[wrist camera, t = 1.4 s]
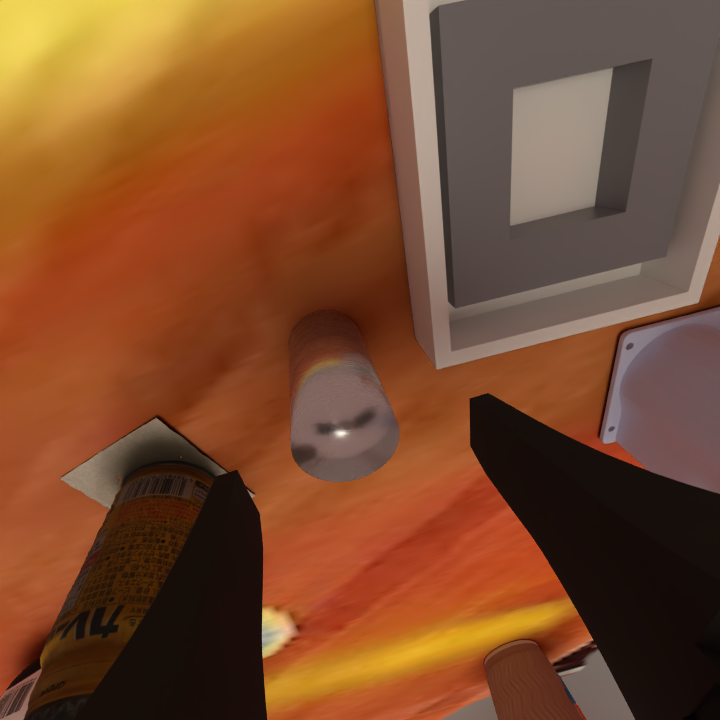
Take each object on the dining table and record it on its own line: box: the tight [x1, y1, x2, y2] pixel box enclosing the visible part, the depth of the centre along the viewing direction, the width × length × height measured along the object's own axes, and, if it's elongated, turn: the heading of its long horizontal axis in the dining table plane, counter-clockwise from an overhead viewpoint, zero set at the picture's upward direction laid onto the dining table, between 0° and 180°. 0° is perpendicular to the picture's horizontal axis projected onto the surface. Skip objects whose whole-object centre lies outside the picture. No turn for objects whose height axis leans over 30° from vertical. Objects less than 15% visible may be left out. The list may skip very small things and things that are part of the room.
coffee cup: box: [484, 640, 586, 720], centre depth 40 cm, size 10×10×12 cm
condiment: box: [24, 418, 255, 720], centre depth 18 cm, size 7×8×12 cm
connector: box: [289, 310, 399, 482], centre depth 17 cm, size 4×4×8 cm
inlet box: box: [374, 0, 720, 370], centre depth 16 cm, size 16×14×4 cm
